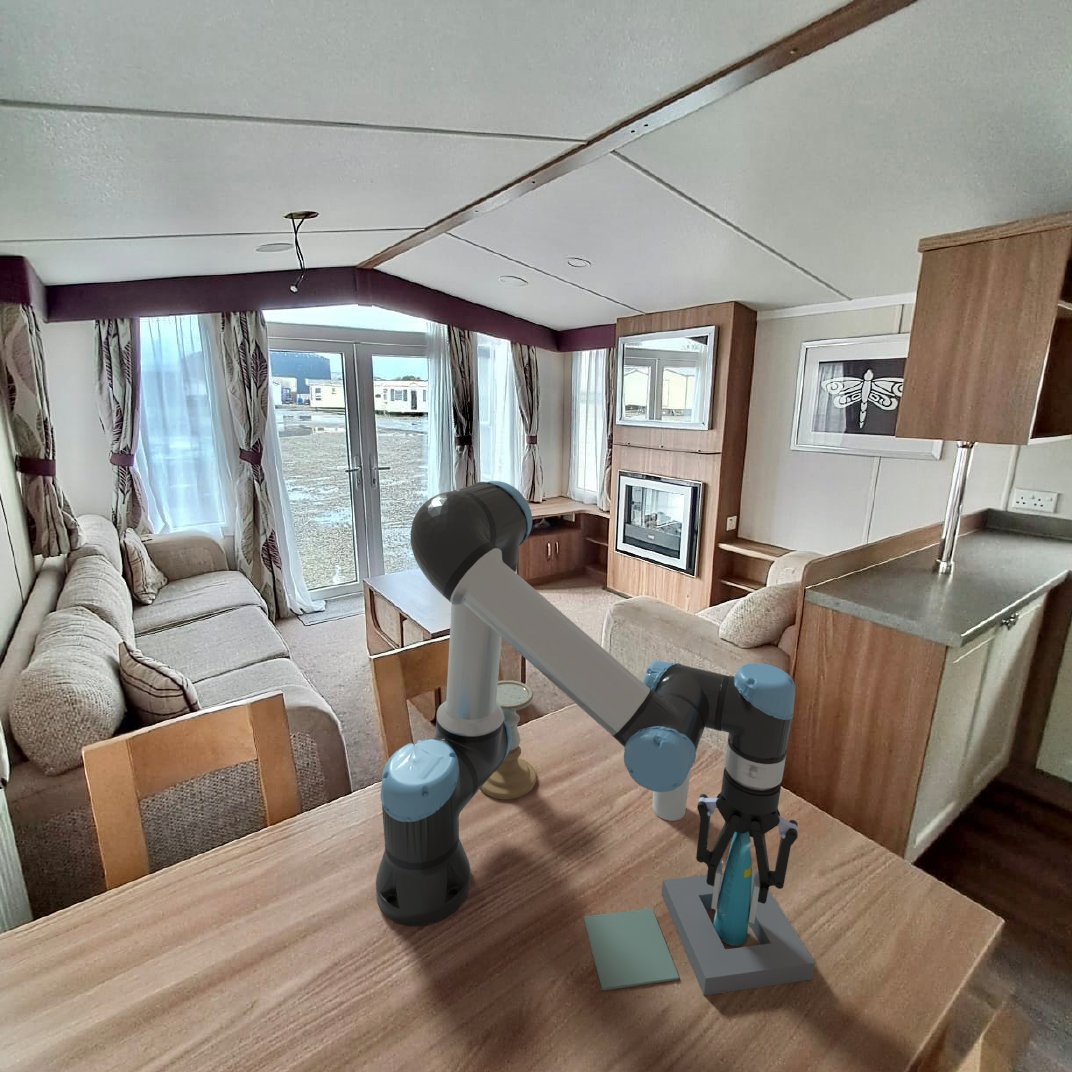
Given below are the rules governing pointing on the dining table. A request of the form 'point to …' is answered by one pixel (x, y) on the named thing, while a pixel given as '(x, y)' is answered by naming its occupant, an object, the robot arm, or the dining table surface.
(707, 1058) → the dining table surface
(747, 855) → the tube
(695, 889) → the socket board
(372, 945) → the dining table surface
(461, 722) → the robot arm
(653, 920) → the coaster
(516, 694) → the candle holder
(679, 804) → the mug
